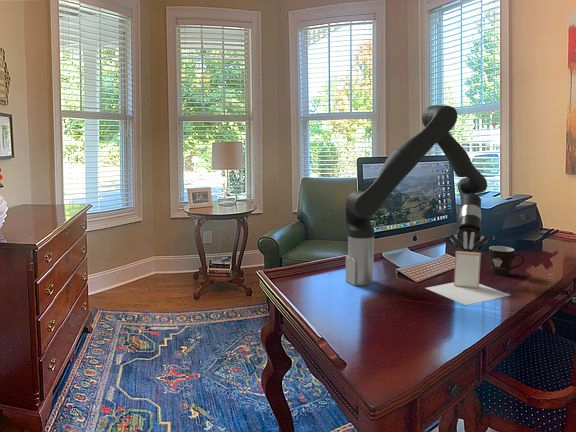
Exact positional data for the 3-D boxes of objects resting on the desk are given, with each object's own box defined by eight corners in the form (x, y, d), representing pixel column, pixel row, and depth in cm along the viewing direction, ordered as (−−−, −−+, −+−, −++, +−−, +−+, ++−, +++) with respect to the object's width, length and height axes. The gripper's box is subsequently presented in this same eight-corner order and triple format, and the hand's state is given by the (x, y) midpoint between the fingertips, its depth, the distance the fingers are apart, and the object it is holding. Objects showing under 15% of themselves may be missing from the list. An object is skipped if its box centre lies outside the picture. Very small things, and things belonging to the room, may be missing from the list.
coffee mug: (482, 272, 168) (483, 247, 166) (499, 269, 171) (501, 245, 169) (507, 281, 157) (508, 254, 155) (524, 278, 160) (526, 251, 158)
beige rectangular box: (478, 288, 148) (480, 254, 146) (453, 286, 151) (455, 252, 149) (478, 286, 150) (480, 252, 148) (454, 283, 154) (455, 250, 151)
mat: (465, 306, 134) (465, 305, 134) (424, 289, 150) (424, 288, 150) (511, 296, 142) (511, 294, 142) (467, 281, 158) (467, 279, 158)
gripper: (450, 212, 160) (447, 253, 151) (490, 214, 155) (488, 256, 145) (450, 224, 165) (447, 263, 156) (488, 226, 160) (487, 267, 151)
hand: (467, 260), depth 151 cm, fingers closed
